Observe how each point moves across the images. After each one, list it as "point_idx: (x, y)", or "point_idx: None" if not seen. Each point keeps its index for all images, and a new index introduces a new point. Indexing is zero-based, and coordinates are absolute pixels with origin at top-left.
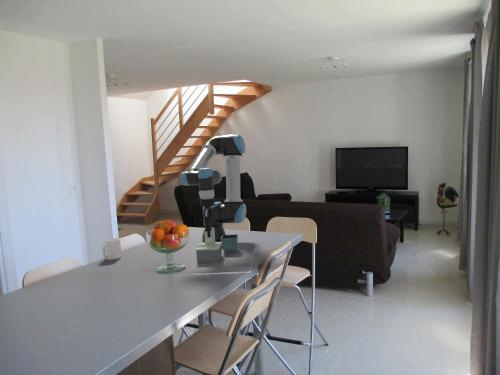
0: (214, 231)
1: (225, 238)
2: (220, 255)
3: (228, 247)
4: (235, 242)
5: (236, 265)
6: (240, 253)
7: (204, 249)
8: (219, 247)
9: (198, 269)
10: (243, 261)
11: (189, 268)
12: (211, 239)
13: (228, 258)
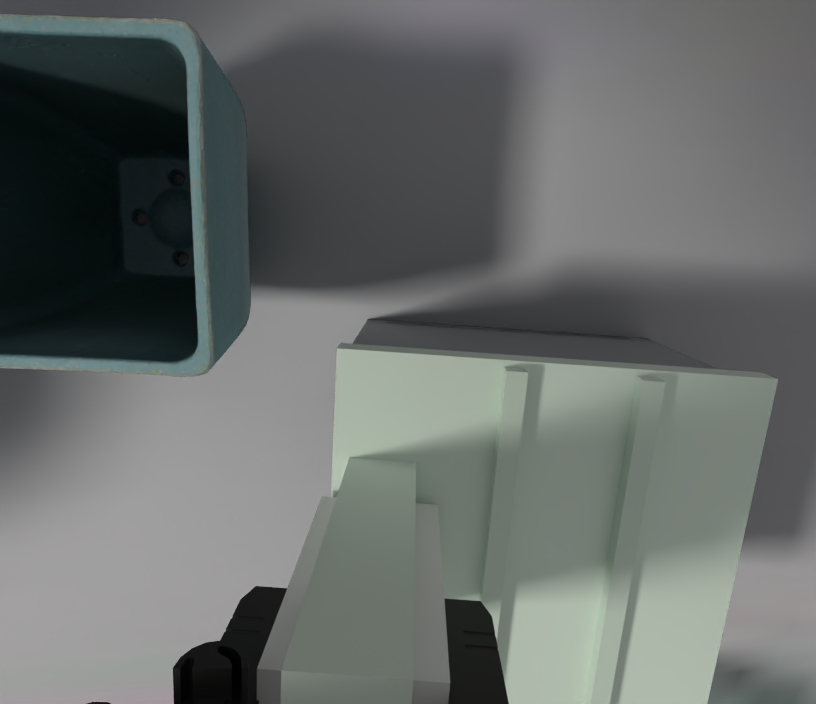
0: (309, 583)
1: (199, 282)
2: (496, 336)
3: (246, 234)
4: (226, 92)
5: (804, 121)
6: (256, 74)
7: (724, 589)
8: (651, 366)
9: (802, 537)
10: (656, 27)
11: (733, 623)
12: (440, 552)
13: (465, 234)
